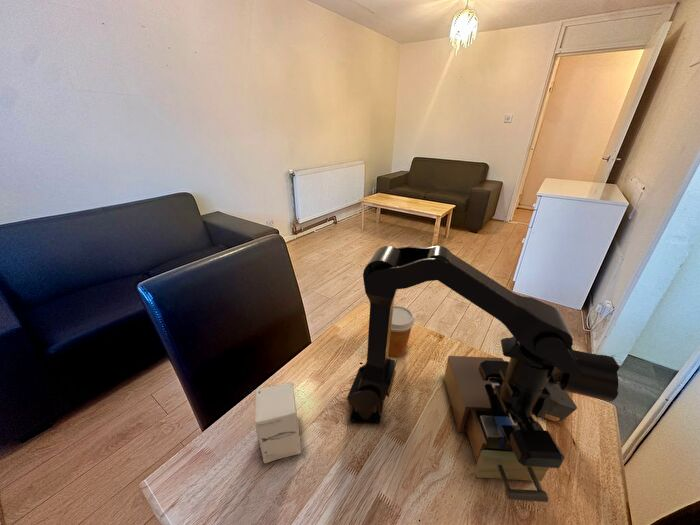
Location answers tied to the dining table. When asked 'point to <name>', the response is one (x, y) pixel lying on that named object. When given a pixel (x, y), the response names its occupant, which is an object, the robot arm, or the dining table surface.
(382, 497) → the dining table surface
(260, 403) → the white packaging box
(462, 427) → the cabinet
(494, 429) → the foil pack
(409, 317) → the orange tub
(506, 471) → the drawer
